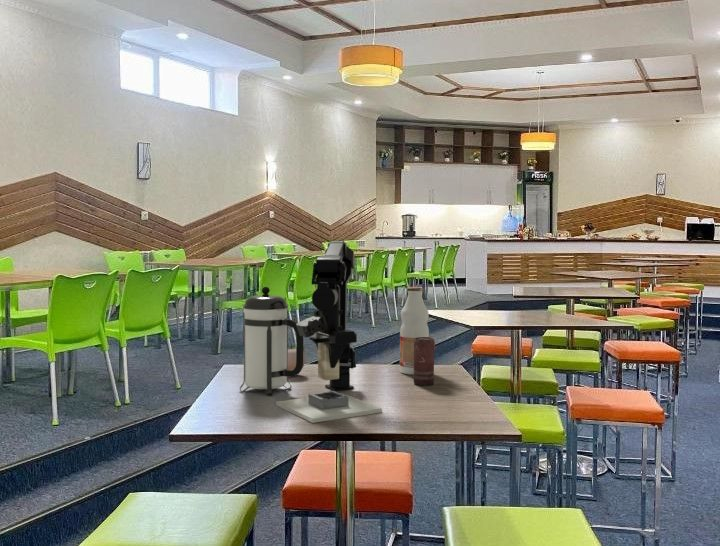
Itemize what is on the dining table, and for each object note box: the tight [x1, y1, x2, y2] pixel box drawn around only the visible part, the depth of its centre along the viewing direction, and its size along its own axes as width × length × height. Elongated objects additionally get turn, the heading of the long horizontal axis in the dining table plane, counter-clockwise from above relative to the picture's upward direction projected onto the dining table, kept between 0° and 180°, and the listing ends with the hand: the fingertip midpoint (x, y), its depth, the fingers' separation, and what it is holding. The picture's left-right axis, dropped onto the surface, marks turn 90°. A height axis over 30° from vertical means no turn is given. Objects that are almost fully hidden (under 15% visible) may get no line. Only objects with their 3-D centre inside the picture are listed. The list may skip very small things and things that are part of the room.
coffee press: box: [239, 286, 304, 397], centre depth 203 cm, size 17×16×30 cm
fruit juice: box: [399, 286, 430, 376], centre depth 231 cm, size 9×9×28 cm
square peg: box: [317, 343, 339, 381], centre depth 182 cm, size 4×4×9 cm
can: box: [412, 336, 436, 387], centre depth 214 cm, size 6×6×14 cm
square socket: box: [307, 390, 349, 410], centre depth 183 cm, size 8×8×2 cm
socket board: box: [276, 392, 383, 424], centre depth 183 cm, size 20×20×1 cm
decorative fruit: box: [288, 344, 307, 371], centre depth 225 cm, size 9×8×10 cm
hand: (328, 366), depth 183 cm, fingers closed on square peg, 4 cm apart
